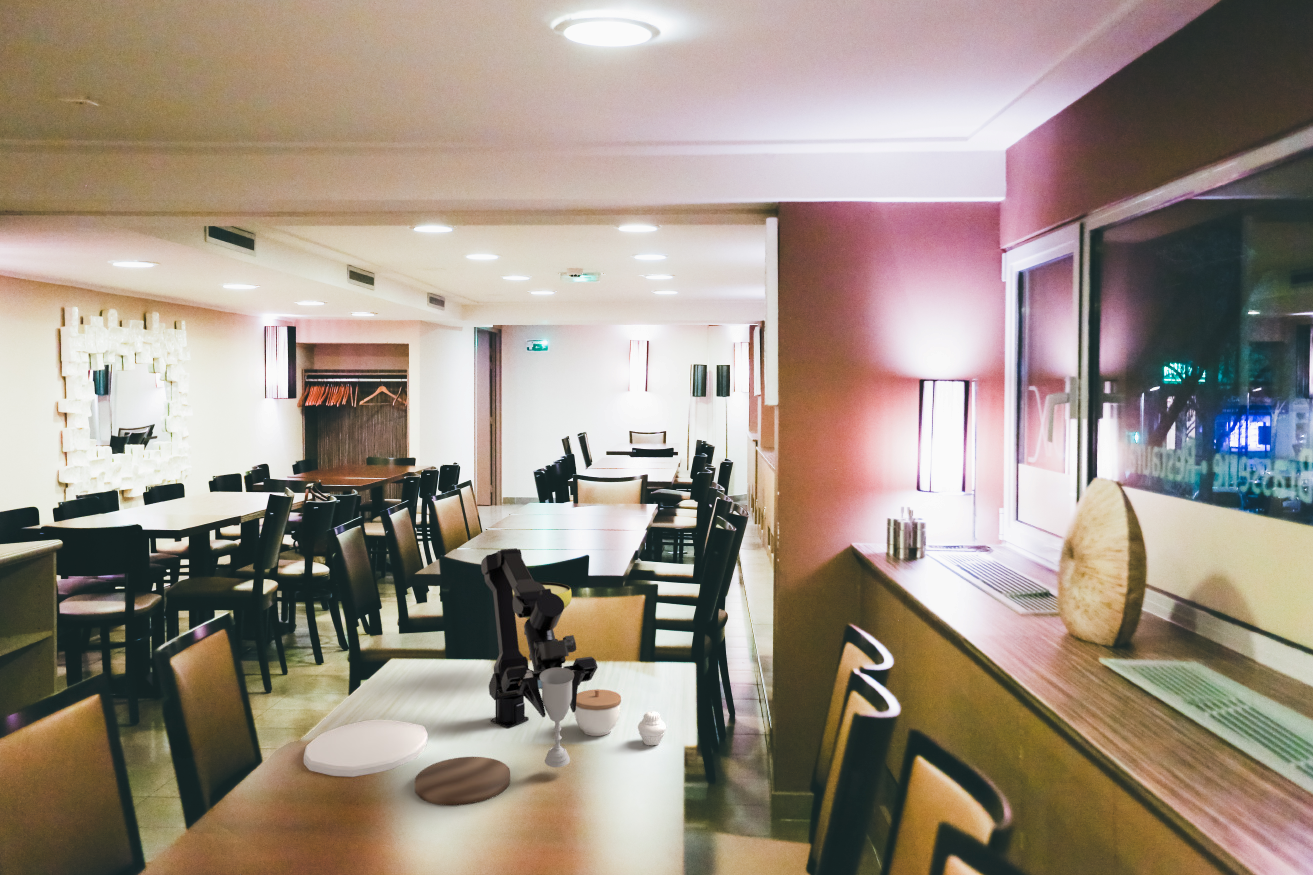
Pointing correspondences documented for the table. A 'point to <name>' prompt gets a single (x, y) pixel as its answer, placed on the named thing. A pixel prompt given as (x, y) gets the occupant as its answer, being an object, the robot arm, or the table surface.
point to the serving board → (462, 781)
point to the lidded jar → (597, 711)
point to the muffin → (651, 728)
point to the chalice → (557, 708)
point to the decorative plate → (365, 747)
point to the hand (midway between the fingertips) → (559, 713)
